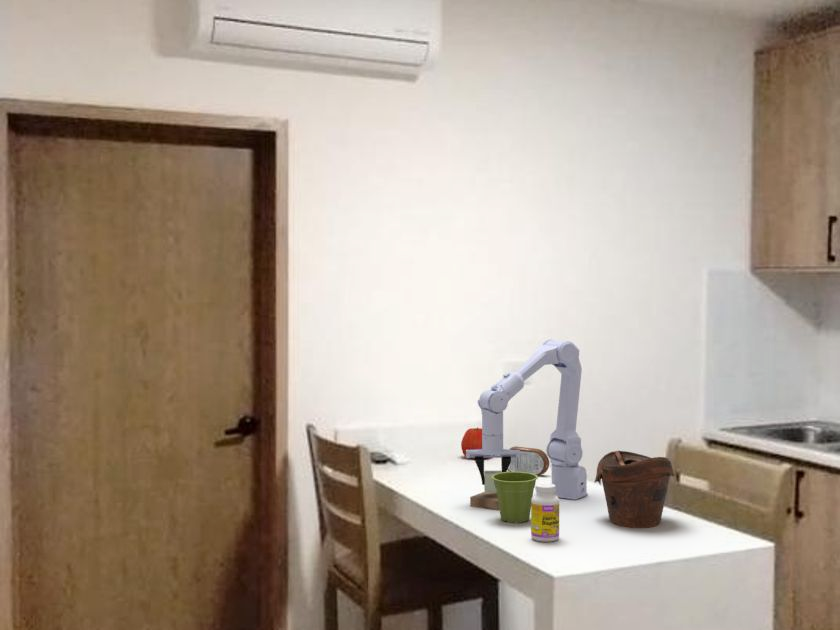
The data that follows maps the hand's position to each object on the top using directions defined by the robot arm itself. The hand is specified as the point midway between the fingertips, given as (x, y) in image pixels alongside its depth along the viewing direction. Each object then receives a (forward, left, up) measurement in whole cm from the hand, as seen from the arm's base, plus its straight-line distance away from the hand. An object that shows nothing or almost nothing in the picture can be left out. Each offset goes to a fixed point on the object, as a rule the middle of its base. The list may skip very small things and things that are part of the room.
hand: (492, 484), depth 272 cm
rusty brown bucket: (-39, -4, -6) cm, 40 cm away
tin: (+12, -41, -6) cm, 43 cm away
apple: (+40, -57, -6) cm, 70 cm away
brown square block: (0, 0, -6) cm, 6 cm away
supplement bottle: (-28, +23, -6) cm, 37 cm away
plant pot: (-13, +11, -6) cm, 18 cm away
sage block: (0, 0, -2) cm, 2 cm away
